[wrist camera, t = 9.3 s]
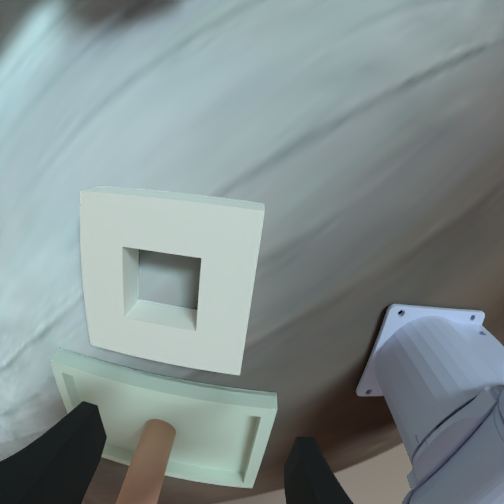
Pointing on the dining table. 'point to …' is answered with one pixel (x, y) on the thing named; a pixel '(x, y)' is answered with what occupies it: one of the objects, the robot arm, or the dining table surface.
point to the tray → (173, 417)
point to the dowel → (148, 464)
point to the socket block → (173, 242)
